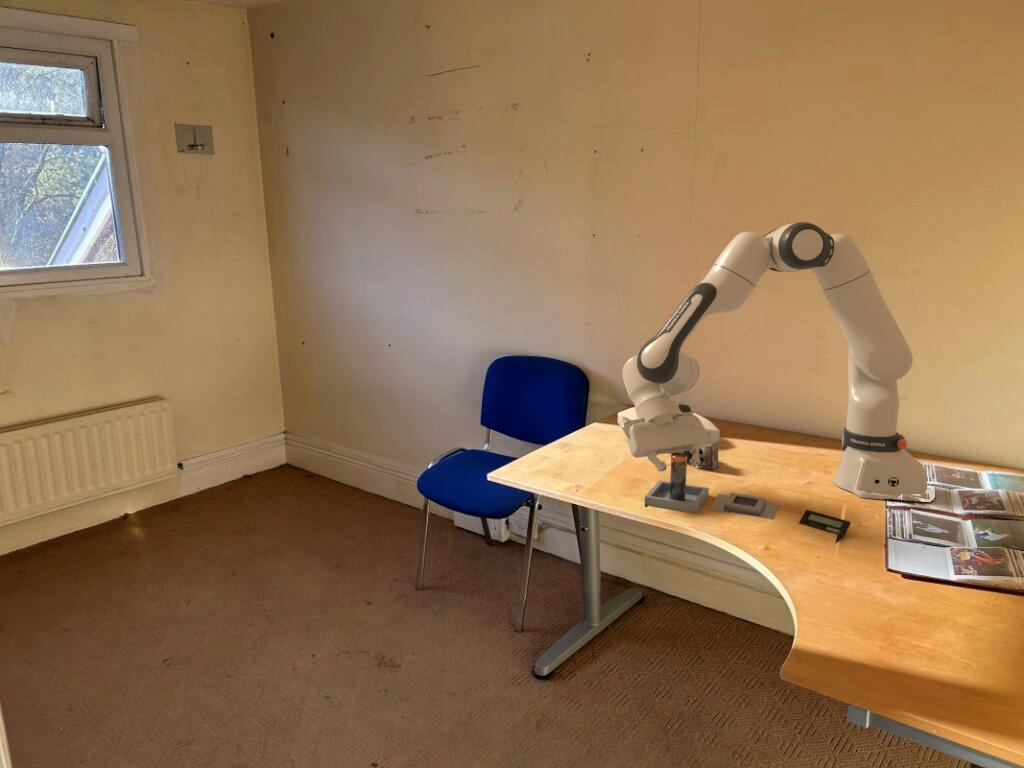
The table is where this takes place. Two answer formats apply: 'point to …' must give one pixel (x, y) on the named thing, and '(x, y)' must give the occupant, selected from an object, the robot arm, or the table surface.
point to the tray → (661, 498)
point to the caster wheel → (706, 456)
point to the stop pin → (678, 476)
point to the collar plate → (745, 505)
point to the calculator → (825, 523)
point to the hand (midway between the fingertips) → (680, 467)
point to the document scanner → (709, 427)
